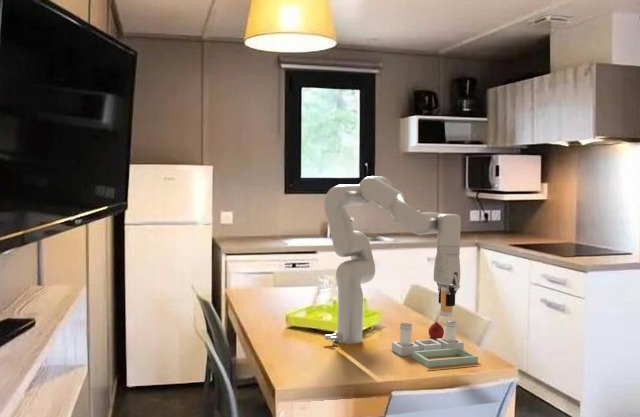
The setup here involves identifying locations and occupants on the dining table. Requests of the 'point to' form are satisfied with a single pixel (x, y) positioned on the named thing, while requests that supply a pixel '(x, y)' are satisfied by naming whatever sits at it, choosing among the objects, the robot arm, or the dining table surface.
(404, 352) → the fuse holder
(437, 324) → the onion
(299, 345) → the dining table surface
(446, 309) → the marked fuse
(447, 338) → the cylinder
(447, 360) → the tray
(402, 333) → the cylinder
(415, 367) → the dining table surface
